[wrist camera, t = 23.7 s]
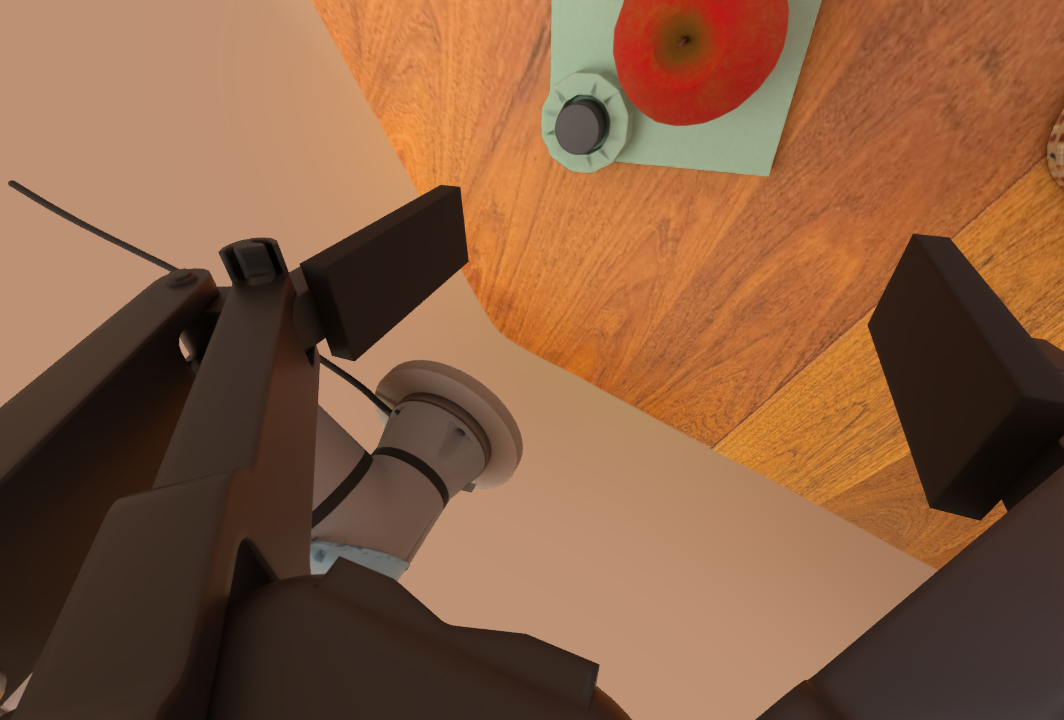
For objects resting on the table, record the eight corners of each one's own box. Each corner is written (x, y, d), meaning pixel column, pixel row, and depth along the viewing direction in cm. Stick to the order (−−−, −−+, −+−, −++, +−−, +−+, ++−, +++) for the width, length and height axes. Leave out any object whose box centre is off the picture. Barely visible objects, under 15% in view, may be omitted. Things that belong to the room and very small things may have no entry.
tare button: (562, 146, 32) (553, 153, 30) (564, 97, 30) (555, 101, 29) (604, 150, 31) (597, 157, 30) (609, 100, 29) (601, 104, 28)
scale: (554, 157, 35) (540, 168, 33) (559, -87, 27) (541, -95, 24) (766, 178, 30) (766, 192, 28) (852, -107, 22) (861, -120, 20)
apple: (654, -73, 25) (601, -107, 17) (817, -60, 23) (844, -92, 15) (621, 99, 30) (570, 134, 22) (752, 122, 28) (746, 169, 20)
